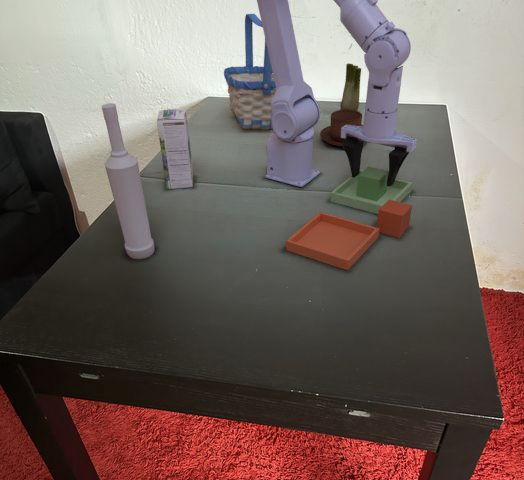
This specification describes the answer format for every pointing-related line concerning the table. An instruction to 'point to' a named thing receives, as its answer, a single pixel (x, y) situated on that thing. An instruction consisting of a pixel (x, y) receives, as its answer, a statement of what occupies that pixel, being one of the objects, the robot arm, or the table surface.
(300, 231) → the clay tray
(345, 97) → the fennel bulb
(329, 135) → the cup and saucer
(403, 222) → the clay block
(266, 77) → the basket
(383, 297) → the table surface
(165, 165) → the syrup box
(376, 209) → the green tray
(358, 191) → the green block
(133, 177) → the bottle
